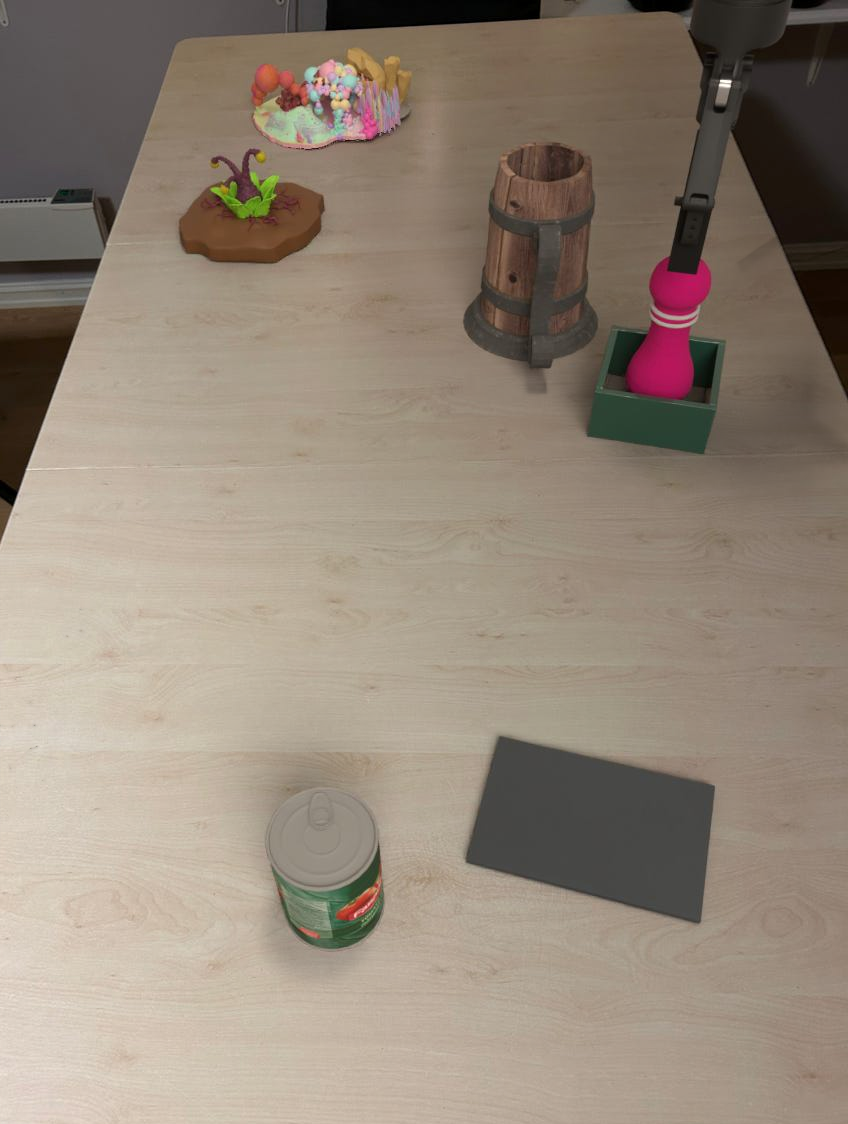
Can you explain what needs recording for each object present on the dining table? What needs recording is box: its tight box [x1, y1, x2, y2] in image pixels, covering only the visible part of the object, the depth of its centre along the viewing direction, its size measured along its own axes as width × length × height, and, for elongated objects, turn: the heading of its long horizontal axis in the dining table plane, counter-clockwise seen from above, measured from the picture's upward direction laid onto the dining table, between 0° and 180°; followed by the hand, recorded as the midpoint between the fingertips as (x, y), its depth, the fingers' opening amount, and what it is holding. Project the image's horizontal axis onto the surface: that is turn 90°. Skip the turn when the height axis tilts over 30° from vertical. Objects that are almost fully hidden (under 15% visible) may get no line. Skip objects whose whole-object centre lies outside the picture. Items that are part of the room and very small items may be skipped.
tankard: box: [463, 141, 599, 370], centre depth 112 cm, size 24×17×20 cm
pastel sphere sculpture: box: [250, 46, 413, 150], centre depth 157 cm, size 25×24×9 cm
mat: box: [465, 735, 716, 924], centre depth 78 cm, size 18×12×1 cm, turn 73°
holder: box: [587, 325, 727, 455], centre depth 108 cm, size 13×13×6 cm
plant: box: [178, 147, 326, 264], centre depth 135 cm, size 20×20×11 cm
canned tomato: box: [264, 785, 386, 952], centre depth 71 cm, size 8×8×11 cm
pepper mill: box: [624, 255, 713, 400], centre depth 102 cm, size 7×7×20 cm
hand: (689, 233), depth 94 cm, fingers open, 13 cm apart
